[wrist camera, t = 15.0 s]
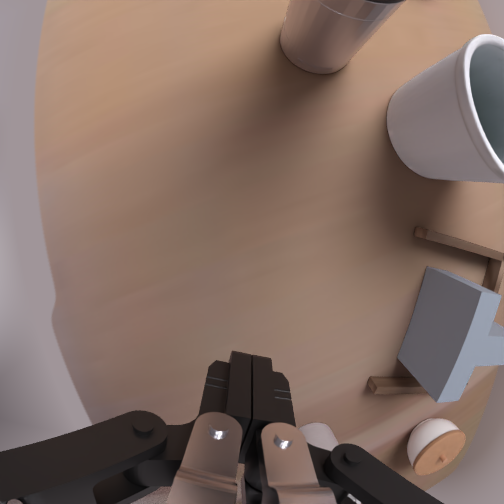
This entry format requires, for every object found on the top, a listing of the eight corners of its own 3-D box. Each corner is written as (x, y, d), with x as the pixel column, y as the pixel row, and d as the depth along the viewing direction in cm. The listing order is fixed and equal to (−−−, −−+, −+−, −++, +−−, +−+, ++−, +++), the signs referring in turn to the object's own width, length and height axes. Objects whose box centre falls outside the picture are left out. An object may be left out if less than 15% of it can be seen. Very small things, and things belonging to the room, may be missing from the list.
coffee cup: (352, 425, 42) (382, 492, 28) (315, 460, 44) (333, 526, 29) (306, 407, 41) (329, 483, 26) (270, 445, 43) (279, 519, 28)
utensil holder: (410, 202, 36) (506, 214, 19) (360, 96, 33) (436, 42, 16) (478, 162, 35) (567, 159, 18) (436, 69, 33) (516, 29, 15)
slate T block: (426, 266, 38) (481, 291, 26) (480, 278, 39) (532, 301, 27) (397, 357, 40) (436, 402, 29) (452, 358, 41) (493, 395, 29)
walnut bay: (415, 226, 37) (427, 229, 34) (495, 250, 38) (507, 254, 35) (367, 383, 41) (374, 394, 38) (450, 381, 42) (459, 390, 39)
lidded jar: (443, 435, 45) (464, 462, 36) (398, 457, 45) (415, 489, 36) (448, 399, 43) (474, 428, 34) (399, 424, 43) (420, 458, 34)
